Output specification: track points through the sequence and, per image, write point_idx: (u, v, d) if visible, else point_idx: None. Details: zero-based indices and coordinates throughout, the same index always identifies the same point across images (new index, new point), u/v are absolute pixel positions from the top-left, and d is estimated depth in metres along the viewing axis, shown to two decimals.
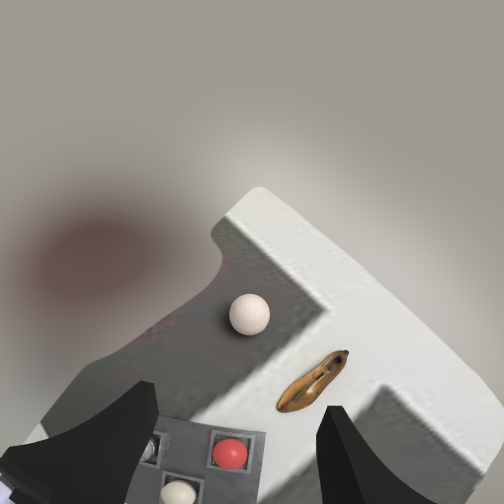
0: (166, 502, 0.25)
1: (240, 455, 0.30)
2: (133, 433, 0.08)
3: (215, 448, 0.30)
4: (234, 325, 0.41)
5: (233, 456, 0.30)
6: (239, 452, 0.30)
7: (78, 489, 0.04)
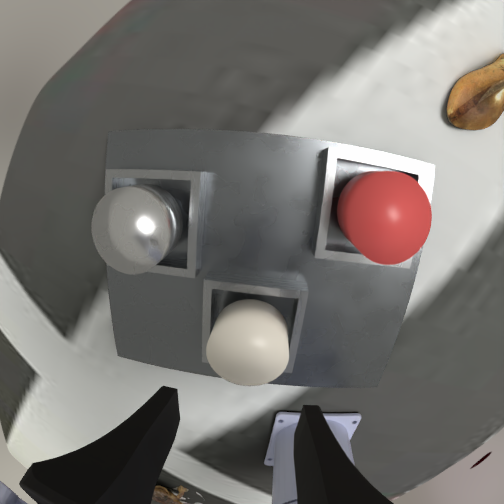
0: (221, 372, 0.15)
1: (416, 221, 0.12)
2: (158, 440, 0.08)
3: (357, 199, 0.12)
4: None
5: (401, 224, 0.12)
6: (415, 211, 0.12)
7: (110, 503, 0.04)
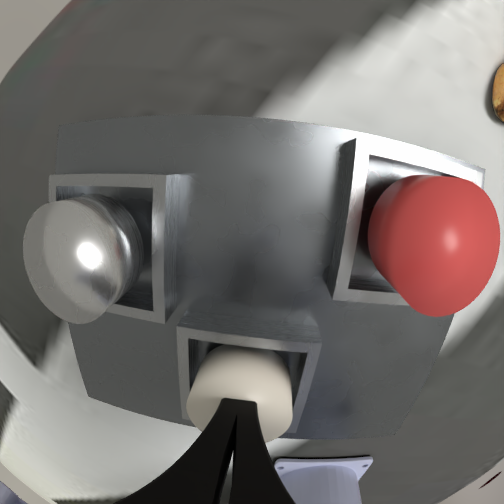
0: None
1: (482, 252, 0.07)
2: (227, 454, 0.08)
3: (408, 222, 0.07)
4: None
5: (464, 258, 0.07)
6: (482, 238, 0.07)
7: None
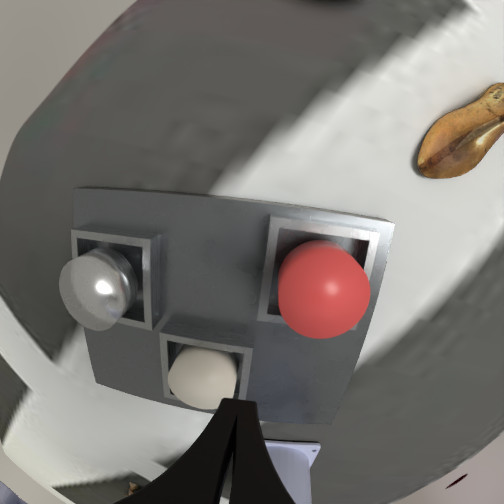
0: (181, 397, 0.17)
1: (352, 299, 0.13)
2: (227, 454, 0.08)
3: (286, 282, 0.13)
4: None
5: (334, 303, 0.13)
6: (351, 290, 0.13)
7: None
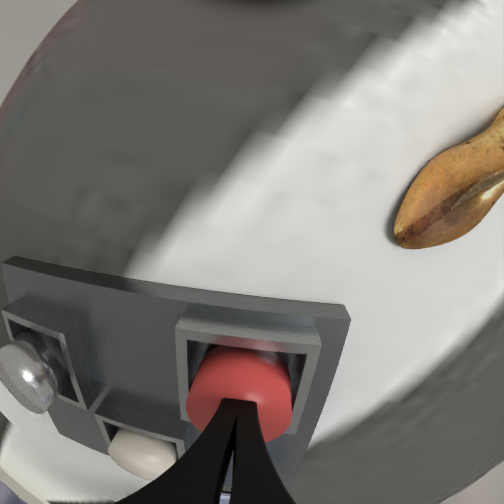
0: (124, 467, 0.14)
1: (269, 418, 0.10)
2: (227, 454, 0.08)
3: (191, 400, 0.10)
4: None
5: None
6: (267, 411, 0.10)
7: None
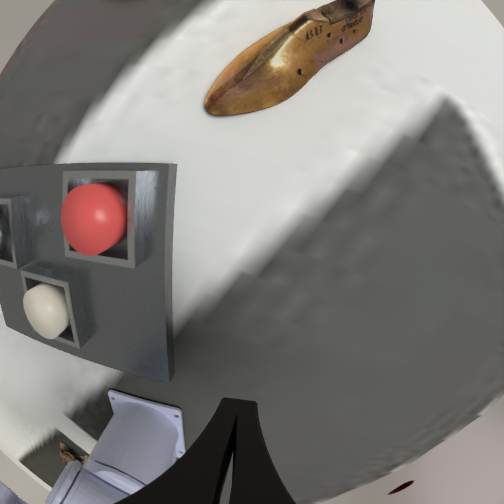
0: (33, 325, 0.18)
1: (102, 221, 0.15)
2: (227, 454, 0.08)
3: (63, 209, 0.15)
4: None
5: (91, 224, 0.15)
6: (100, 213, 0.15)
7: None
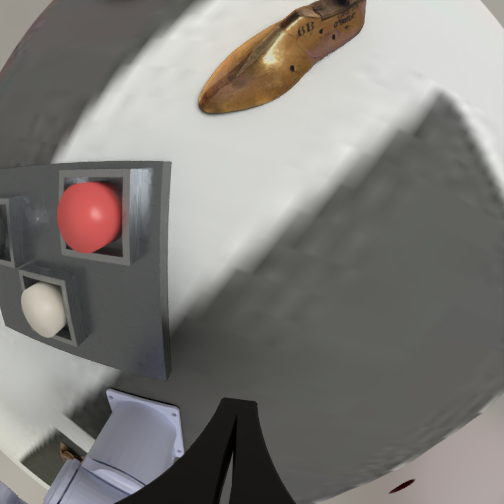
0: (31, 324, 0.18)
1: (97, 218, 0.15)
2: (227, 454, 0.08)
3: (59, 208, 0.15)
4: None
5: (87, 222, 0.15)
6: (95, 211, 0.15)
7: None
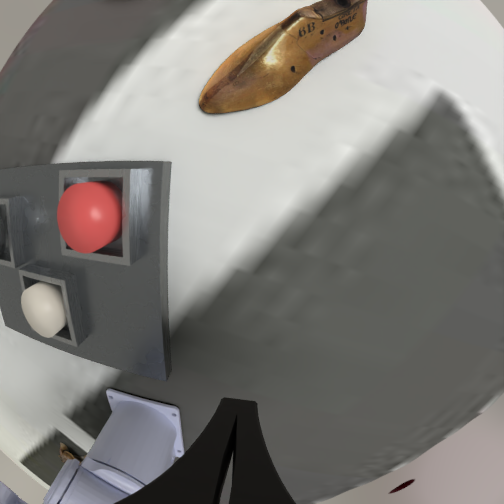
0: (31, 324, 0.18)
1: (97, 218, 0.15)
2: (227, 454, 0.08)
3: (59, 208, 0.15)
4: None
5: (87, 222, 0.15)
6: (95, 211, 0.15)
7: None
